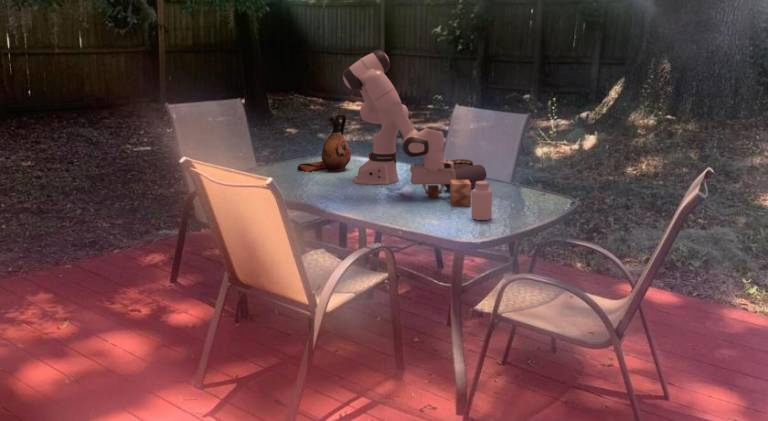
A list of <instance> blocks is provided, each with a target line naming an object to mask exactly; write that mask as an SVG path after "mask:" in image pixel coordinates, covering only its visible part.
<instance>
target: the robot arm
mask: <svg viewBox="0 0 768 421" xmlns="http://www.w3.org/2000/svg"><path fill="white" fill-rule="evenodd" d="M390 67H391V63H390V60H389V56H388V55H387V54H386V53H385V52H384V51H383V50H381V49H377V50H374V51H371V53H369V54H367V55H365V56H364V57H361V58H359V60H357V61H355V62H354V63H353V64H352V65H351V66H349V67H346V68H345V69H344V71H343V72H342V79H343V82H344V84H345V86H346V87H348V88H349V89H350V90H351V91H356V92H357V91H360V94H361V96H362V98H363V101H364V102H363V103H362V105H360V109H359V114H360V115H359V116H360V118H361V120H363V121H364V122H367V123H371V124H377V125H381V128H380V131H379V132H376V133H375V134H374V135H373V138H372V151H369V152H368V153H367V155H368V160H367V161H366V162H365V163H363V164H362V165H361V166H360V167H359V168H358V172H357V175H356V176H354V177H353V182H354V184H363V185H388V184H392V183H396V182H399V180H400V178H399V176H398V170H397V163H398V162H397V160H398V159H397V156H398V155H397V152H396V145H397V144H396V143H397V142H396V141H397V135H398V132H400V133H401V135H402V138H403V144H402V150H403V152H404V154H405V155H407V156H409V157H412V158H415V157H417V158H418V157H423V163H413V164H411V165H410V167H409V169H410V170H409V172H410V173H411V175H410V184H412V185H422V188H423V190H424V194H425V195H428V188H426V187H427V185H440V188H439V195H441V194H442V193H443V192H442V191H443V190H444V188H445V186H444V184H450V180H456V173H455V170H454V168H453V167H454V164H453V162H451V161H450V160H448V159H445V157H444V148H445V139H444V132H443V131H442V129H440V128H439V127H435V126H426V127H425V128H424V129H422V130H418V129H417V128H416V127H415V126H414V125H413V123H412V121H411V120H410V119H409V110H408V107H407V106H406V105H405V104H402V101H401V98H400V96H399V93H398V91H397V89H396V88H395V86H394V85H393V83H392V82H391V80H390V79H389V78H388V76H387V75H386V74H385V73H387V72H388V71H389V69H390Z"/></svg>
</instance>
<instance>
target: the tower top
mask: <svg viewBox="0 0 768 421" xmlns="http://www.w3.org/2000/svg"><path fill="white" fill-rule="evenodd" d="M449 193H450V195H451V194H452V196H466V195H471V196H472V187H471V183H470V181H469V180H450V189H449Z"/></svg>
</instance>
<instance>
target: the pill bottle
mask: <svg viewBox="0 0 768 421" xmlns="http://www.w3.org/2000/svg"><path fill="white" fill-rule="evenodd" d="M489 184H490V182H488V181H487V180H483V181H477V182H476V183H475V184H474V185H475V186H474V187H475V188H474V189H472V190H471V219H472V218H473V219H472V220H474V219H476V220H475V221H477V220H487V221H490V220H491V219H492V211H493V209H492V208H493V205H492V203H493V191H492V190H491V189H490V185H489ZM489 219H490V220H489Z"/></svg>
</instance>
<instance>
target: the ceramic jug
mask: <svg viewBox="0 0 768 421" xmlns="http://www.w3.org/2000/svg"><path fill="white" fill-rule="evenodd" d="M340 118H341V121H340ZM346 122H347V117H346V114H344V113H337V114H336V116H335V117H328V118H327V120H326V125H328V126H331V127H333V129H332V131H331V133H330V134H329V136H328V137H327V139H326V141H325V142H324V144H323V147H322V150H321V161H323V163H324V165H325V166H326V167H327V169H326V170H327V172H333V173H334V172H335V173H340V172H344V171H345V169H346V167H347V166H348V164H350V162H351V159H352V158H351V157H352V156H351V150H350V149H351V148H350V146H349V144H348V141H347V139H346V138H345V137H344V130H345V125H346Z"/></svg>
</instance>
